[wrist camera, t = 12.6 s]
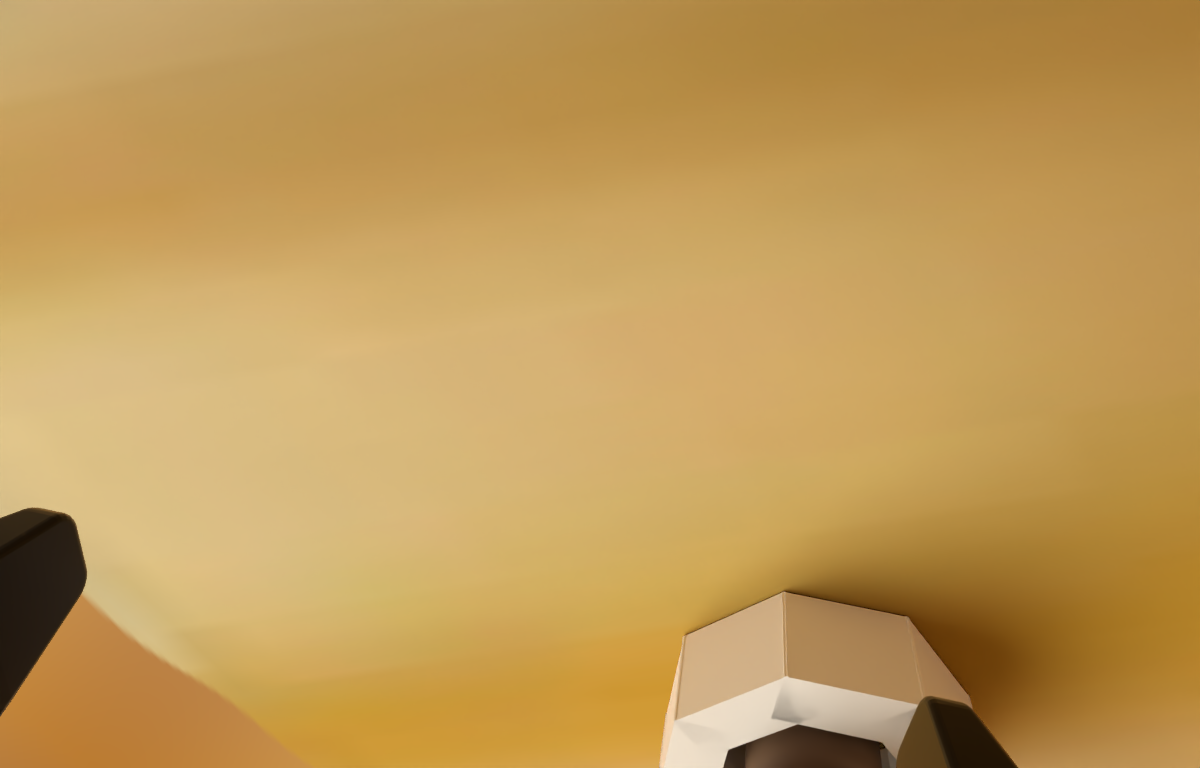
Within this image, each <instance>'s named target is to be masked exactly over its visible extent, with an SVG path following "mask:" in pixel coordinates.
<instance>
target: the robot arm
mask: <svg viewBox="0 0 1200 768" xmlns="http://www.w3.org/2000/svg"><path fill="white" fill-rule="evenodd" d="M86 579H87V569H86V564H85V560H84V556H83V551H82V547H81V543H80V539H79V535H78V530H77V526H76V523H75V521H74V520H73V519H72V518H71V516H69V515H67V514H65V513H61V512H56V511H51V510H47V509H42V508H27V509H24V510H21V511H18V512H15V513H13V514H10V515H7V516H5V517H2V518H0V716H1V715H2V713H3V712H4V710H5V709H6V707H7V706H8V705H9V703H10V702H11V700H12V699H13V697H14V696H15V694H16V693H17V691H18V690H19V688H20V687H21V685H22V684H23V682H24V681H25V679H26V678H27V676H28V674H29V673H30V671H31V670H32V668H33V667H34V665H35V664H36V662H37V661H38V659H39V658H40V656H41V655H42V653H43V652H44V650H45V649H46V647H47V646H48V644H49V643H50V641H51V640H52V638H53V637H54V635H55V633H56V632H57V630H58V629H59V627H60V626H61V624H62V623H63V621H64V620H65V618H66V617H67V615H68V614H69V612H70V611H71V609H72V608H73V606H74V604H75V603H76V602H77V600H78V598H79V597H80V595H81V593H82V591H83V589H84V586H85V583H86ZM896 768H1018V767H1017V765H1016V764H1015V763H1014V762H1013V760H1012V759H1011V758H1010V756H1009V755H1008V754H1007V753H1006V751H1005V750H1004V749H1003V747H1002V746H1001V745H1000V744H999V742H998V741H997V740H996V738H995V737H994V736H993V735H992V733H991V732H990V731H989V729H988V728H987V727H986V726H985V724H984V723H983V722H982V720H981V719H980V718H979V717H978V715H977V714H976V713H975V712H974V710H973V709H972V708H971V707H969V706H968V705H967V704H965V703H962V702H958V701H954V700H949V699H944V698H940V697H935V696H926V697H924V698H923V699H922V700H921V701H920V702H919V704H918V706H917V708H916V711H915V713H914V715H913V718H912V720H911V722H910V724H909V727H908V729H907V731H906V734H905V736H904V738H903V741H902V743H901V745H900V748H899V751H898V755H897V760H896Z"/></svg>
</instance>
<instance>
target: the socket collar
mask: <svg viewBox="0 0 1200 768" xmlns="http://www.w3.org/2000/svg"><path fill="white" fill-rule="evenodd" d="M926 696H935V697H940V698H944V699H949V700H954V701H958V702H962V703H965V704H967V705H968V706H969V707H971V708H972V704H971V700H970V697H969V695H968V694H967V693H966V692H965V691H964V689H963V688H962V687H961V685H960V684H959V683H958V682H957V680H956V679H955V678H954V676H953V675H952V674H951V673H950V671H949V670H948V669H947V667H946V666H945V665H944V663H943V662H942V661H941V660H940V658H939V657H938V656H937V654H936V653H935V652H934V650H933V649H932V648H931V647H930V645H929V644H928V643H927V641H926V640H925V639H924V638H923V636H922V635H921V634H920V632H919V631H918V630H917V628H916V627H915V626H914V625H913V623H912V622H911V621H910V618H909V617H907V616H900V615H895V614H891V613H886V612H881V611H876V610H871V609H866V608H861V607H856V606H851V605H846V604H841V603H836V602H831V601H826V600H821V599H817V598H812V597H807V596H802V595H797V594H792V593H787V592H782V593H780V594H778V595H776V596H773V597H771V598H769V599H767V600H764V601H762V602H760V603H758V604H755V605H753V606H751V607H749V608H746V609H744V610H742V611H740V612H737V613H735V614H733V615H731V616H728V617H726V618H724V619H722V620H719V621H717V622H715V623H713V624H710V625H708V626H706V627H704V628H701V629H699V630H697V631H695V632H692V633H690V634H688V635H684V636H683V641H682V648H681V652H680V657H679V661H678V666H677V670H676V675H675V679H674V684H673V688H672V692H671V697H670V701H669V706H668V710H667V713H666V716H665V724H664V732H663V740H662V748H661V755H660V763H659V768H745V753H746V743H748V742H751V741H753V740H756V739H759V738H762V737H764V736H767V735H770V734H772V733H775V732H778V731H781V730H783V729H786V728H789V727H791V726H794V725H797V724H799V725H804V726H809V727H813V728H818V729H822V730H827V731H832V732H836V733H841V734H845V735H850V736H855V737H859V738H864V739H869V740H873V741H878V742H882V743H883V744H884V745H885V747H886V748H884V749H881V750H880V754H881V761H882V768H896V760H897V755H898V751H899V748H900V745H901V743H902V741H903V738H904V736H905V734H906V731H907V729H908V727H909V724H910V722H911V720H912V718H913V715H914V713H915V711H916V708H917V706H918V704H919V702H920V701H921V700H922V699H923V698H924V697H926ZM972 709H973V708H972Z"/></svg>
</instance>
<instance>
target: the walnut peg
mask: <svg viewBox="0 0 1200 768" xmlns="http://www.w3.org/2000/svg"><path fill="white" fill-rule="evenodd" d="M745 768H882V761H881V754H880V746H879V742H878V741H873V740H869V739H864V738H859V737H855V736H850V735H845V734H841V733H836V732H832V731H827V730H822V729H818V728H813V727H809V726H804V725H799V724H797V725H794V726H791V727H789V728H786V729H783V730H781V731H778V732H775V733H772V734H770V735H767V736H764V737H762V738H759V739H756V740H753V741H751V742H748V743H746V753H745Z"/></svg>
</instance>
